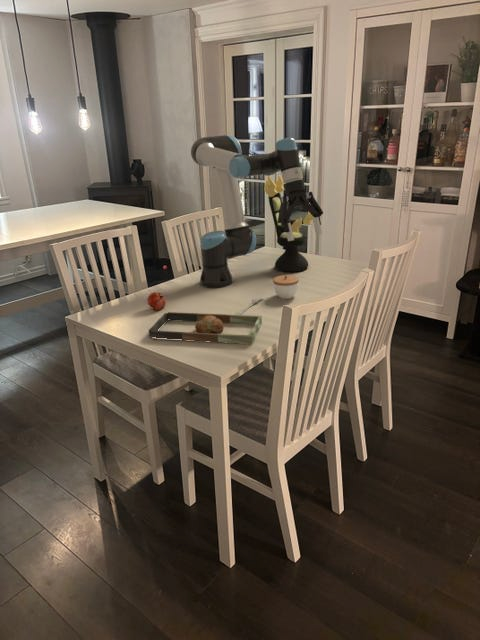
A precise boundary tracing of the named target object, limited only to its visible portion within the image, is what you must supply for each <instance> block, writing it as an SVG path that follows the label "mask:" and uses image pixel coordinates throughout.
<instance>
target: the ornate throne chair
mask: <svg viewBox="0 0 480 640" xmlns="http://www.w3.org/2000/svg"><path fill="white" fill-rule="evenodd" d="M284 184H285V183H283V179H282V175H280V174H278V176H277V179H276V181H275V182H274V181H273V179H272V178H271V175H270V176H267V180H266V179H265V185H264V188H263V190H264V192H265V194H266V195H268V204H269V208H270V211H271V214H272V219H273V223H274V224H273V225H274V227H275V232H276V237H277V238H276V243H277V244H278V245H279V246H280V247H284V248H285V250H284V252H283V253H282V254H281V255H280V256H279V257H277V259H276V260H275V262H274V268H275V269H276V270H277V271H279V272H284V273H285V272H287V273H293V272H300V271H304V270H306V269H307V268H308V267H309V261H308V260H307V258H306V257H305V256H304V255H302V253H300V252H299V250H298V247H301V246H303V245H304V244H305V242H306V237H305V235H303V233H301V232H300V228H301V227H302V226H303V225H306V226H311V225H312V221H313V218H314V217H313V216H312V215H311V214H310V213H309V212H307V214H306V215H305V218H304V219H303V217H302V216H300V217H298V219H293V220H292V219H291V220H290V219H289V221H288V223H290V224H291V228H292V233H293V238H294V240H292V241H288V238H287V234H286V233H285V231H284V227H283V224H281V223H278V216H279V210H280V205H281V202H280V198H281V197H282V195H281V193H282V192H283V191H285V188H284Z"/></svg>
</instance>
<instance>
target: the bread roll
mask: <svg viewBox="0 0 480 640" xmlns="http://www.w3.org/2000/svg"><path fill="white" fill-rule="evenodd" d="M194 327H195V333H213V334H223V333H222V332H223V331H224V323H222V321H221V320H220V319H218V318H216V317H215V316H212V315H206V316H204V317H202V318H201V319H200V320H199V321H198V322H196V324H195V326H194Z"/></svg>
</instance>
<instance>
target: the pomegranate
mask: <svg viewBox="0 0 480 640" xmlns="http://www.w3.org/2000/svg"><path fill="white" fill-rule="evenodd" d="M146 300H147V304H148V306H149V307H150V308H151V309H152V310H154V311H159V310H161V309H163V308H165V306H166V305H167V300H166V298H165V296H164V294H162V293H161V292H153V293H151V294H149V295H148V296H147V299H146Z"/></svg>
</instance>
